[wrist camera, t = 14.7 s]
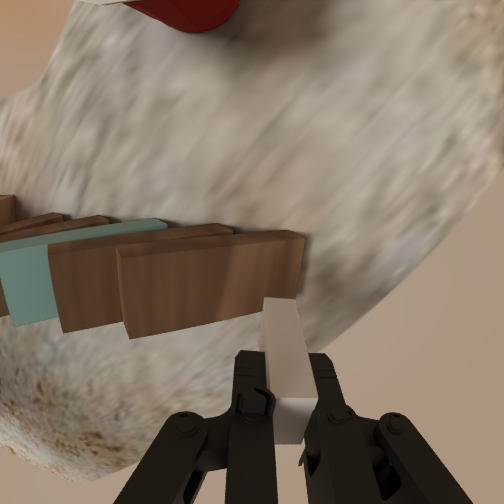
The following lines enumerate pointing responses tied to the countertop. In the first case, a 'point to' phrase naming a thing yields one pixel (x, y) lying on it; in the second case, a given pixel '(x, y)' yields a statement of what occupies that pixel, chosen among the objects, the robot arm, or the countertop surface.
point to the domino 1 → (31, 223)
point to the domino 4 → (101, 273)
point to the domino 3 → (46, 268)
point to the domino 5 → (204, 279)
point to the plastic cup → (182, 12)
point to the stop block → (7, 210)
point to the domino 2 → (0, 300)
